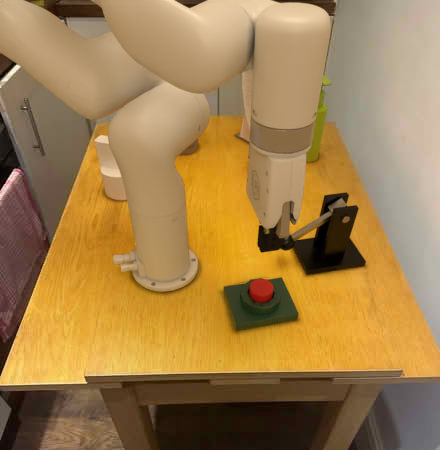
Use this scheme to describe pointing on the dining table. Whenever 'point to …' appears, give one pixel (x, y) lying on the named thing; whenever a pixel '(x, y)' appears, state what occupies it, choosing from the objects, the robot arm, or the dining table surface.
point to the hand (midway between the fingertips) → (268, 247)
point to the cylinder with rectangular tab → (109, 170)
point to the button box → (259, 306)
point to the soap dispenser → (318, 124)
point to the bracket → (331, 241)
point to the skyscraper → (246, 105)
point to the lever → (310, 226)
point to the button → (261, 290)
